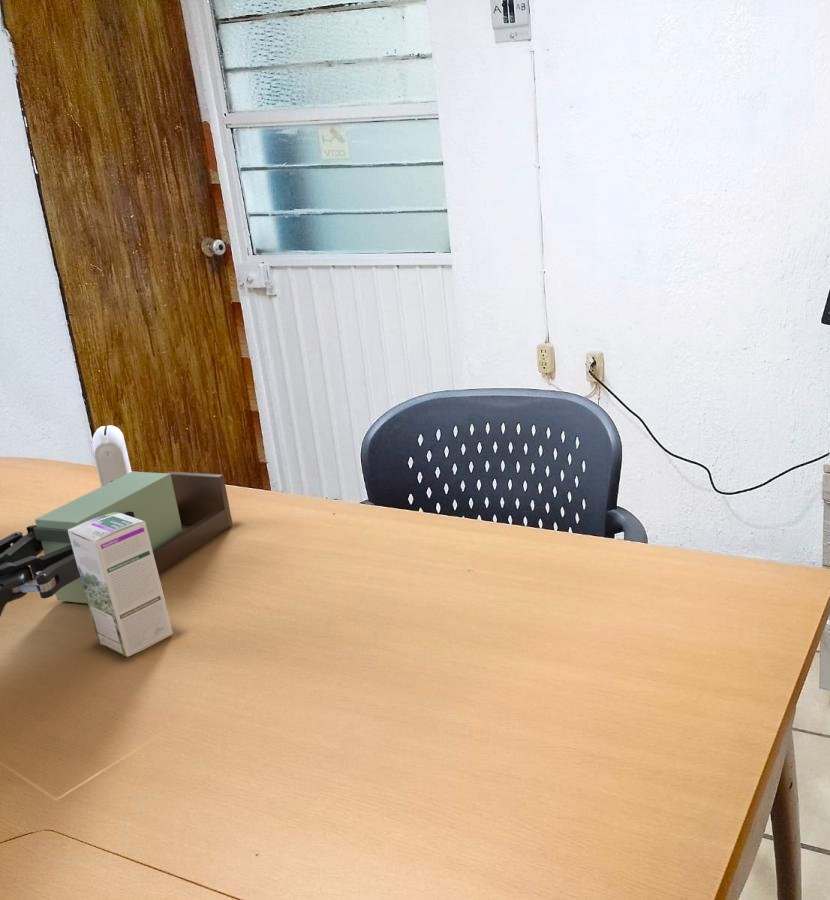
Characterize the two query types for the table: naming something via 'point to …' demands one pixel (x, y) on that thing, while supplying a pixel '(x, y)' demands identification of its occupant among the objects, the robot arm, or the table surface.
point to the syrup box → (121, 582)
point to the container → (125, 494)
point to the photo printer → (110, 454)
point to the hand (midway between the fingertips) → (110, 519)
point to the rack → (195, 515)
